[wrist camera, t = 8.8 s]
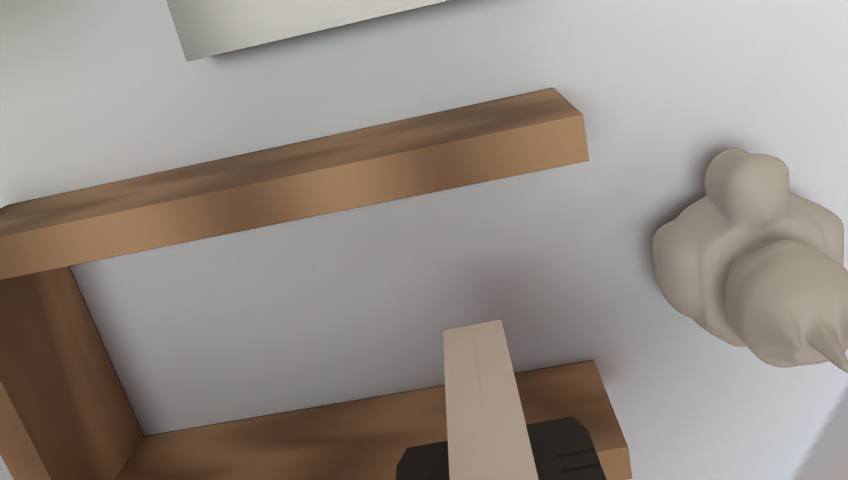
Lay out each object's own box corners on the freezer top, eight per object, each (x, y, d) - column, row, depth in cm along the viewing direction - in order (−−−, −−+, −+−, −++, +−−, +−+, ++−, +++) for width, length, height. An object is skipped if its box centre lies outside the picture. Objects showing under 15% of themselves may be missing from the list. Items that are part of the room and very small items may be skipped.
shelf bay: (126, 465, 27) (59, 564, 22) (7, 205, 23) (-105, 258, 18) (597, 387, 25) (632, 478, 20) (552, 87, 21) (582, 114, 16)
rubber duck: (645, 323, 24) (737, 473, 16) (627, 148, 22) (722, 229, 14) (800, 297, 23) (967, 440, 16) (797, 114, 21) (989, 181, 14)
